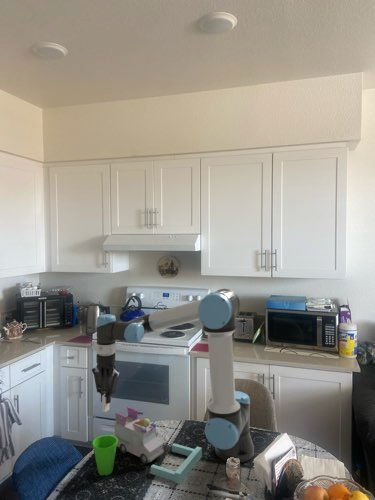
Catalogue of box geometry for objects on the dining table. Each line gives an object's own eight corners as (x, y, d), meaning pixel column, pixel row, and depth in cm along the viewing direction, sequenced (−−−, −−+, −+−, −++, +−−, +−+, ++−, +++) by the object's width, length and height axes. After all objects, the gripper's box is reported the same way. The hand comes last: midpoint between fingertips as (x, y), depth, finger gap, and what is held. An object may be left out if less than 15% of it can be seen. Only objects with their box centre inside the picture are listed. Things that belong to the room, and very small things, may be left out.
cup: (90, 467, 138) (90, 437, 137) (115, 461, 141) (115, 432, 141) (94, 481, 129) (94, 450, 129) (120, 475, 133) (120, 445, 132)
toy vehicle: (148, 468, 137) (148, 428, 136) (112, 450, 149) (112, 413, 148) (165, 456, 144) (165, 418, 144) (129, 440, 156) (129, 404, 155)
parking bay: (201, 456, 144) (201, 447, 144) (179, 484, 128) (179, 474, 128) (174, 448, 149) (174, 440, 149) (149, 474, 133) (149, 464, 133)
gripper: (87, 353, 152) (87, 410, 153) (113, 358, 146) (112, 418, 147) (99, 348, 158) (99, 403, 159) (124, 353, 153) (124, 410, 153)
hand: (105, 410), depth 153 cm, fingers closed
